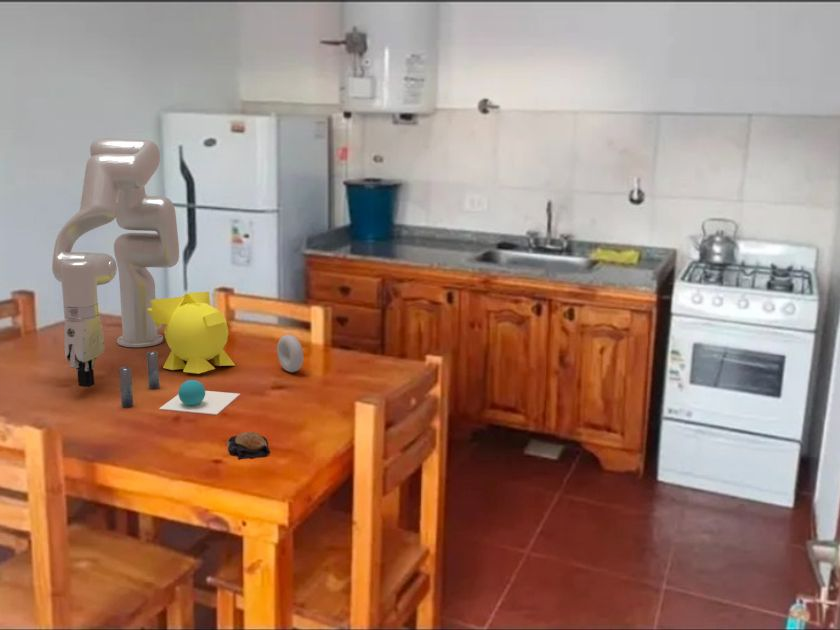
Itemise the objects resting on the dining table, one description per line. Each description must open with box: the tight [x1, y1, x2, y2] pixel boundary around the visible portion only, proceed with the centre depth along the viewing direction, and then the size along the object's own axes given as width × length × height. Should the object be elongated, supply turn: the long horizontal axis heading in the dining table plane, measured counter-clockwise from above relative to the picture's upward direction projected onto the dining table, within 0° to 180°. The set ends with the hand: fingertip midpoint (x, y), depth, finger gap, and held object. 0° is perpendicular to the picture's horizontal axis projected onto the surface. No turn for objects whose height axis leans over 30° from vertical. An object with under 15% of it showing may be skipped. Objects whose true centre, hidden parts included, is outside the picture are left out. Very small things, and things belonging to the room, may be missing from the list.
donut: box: [276, 334, 304, 373], centre depth 225 cm, size 10×4×10 cm, turn 40°
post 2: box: [146, 350, 161, 390], centre depth 210 cm, size 3×3×9 cm
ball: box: [178, 379, 206, 406], centre depth 199 cm, size 6×6×6 cm
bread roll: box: [226, 431, 271, 460], centre depth 176 cm, size 11×8×4 cm
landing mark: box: [158, 390, 241, 416], centre depth 202 cm, size 14×14×1 cm
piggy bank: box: [147, 291, 236, 375], centre depth 226 cm, size 20×20×19 cm
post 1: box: [118, 366, 134, 409], centre depth 197 cm, size 3×3×9 cm
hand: (86, 385), depth 206 cm, fingers closed
